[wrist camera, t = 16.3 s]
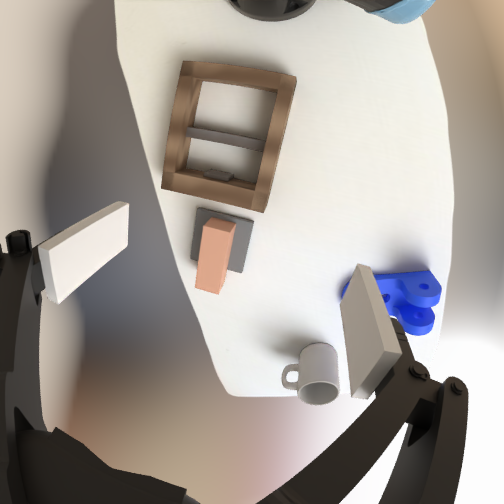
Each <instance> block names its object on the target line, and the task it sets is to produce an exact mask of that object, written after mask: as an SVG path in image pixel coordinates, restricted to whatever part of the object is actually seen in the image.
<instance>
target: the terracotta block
mask: <svg viewBox="0 0 504 504" xmlns="http://www.w3.org/2000/svg"><path fill="white" fill-rule="evenodd" d="M235 227H236V223H233V222H229V221H225V220H222V219H218V218H214V217H211V218H210V219H209V220H208V221H207V223H206V224H205V225H204V226H203V232H202V239H201V246H200V253H199V260H198V267H197V275H196V283H195V288H198V289H201V290H204V291H208V292H211V293H215V294H219V292H220V290H221V288H222V286H223V284H224V282H225V277H226V272H227V267H228V262H229V257H230V252H231V247H232V242H233V237H234V232H235Z"/></svg>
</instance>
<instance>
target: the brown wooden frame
mask: <svg viewBox="0 0 504 504" xmlns="http://www.w3.org/2000/svg"><path fill="white" fill-rule="evenodd" d="M202 81H208V82H216V83H224V84H231V85H237V86H244V87H249V88H255V89H261V90H266V91H271V92H275V93H277V97H276V101H275V105H274V110H273V114H272V118H271V122H270V127H269V131H268V135H267V140H266V141H264V140H259V139H255V138H250V137H246V136H241V135H236V134H231V133H225V132H220V131H214V130H209V129H203V128H196V127H193V125H194V119H195V114H196V109H197V104H198V99H199V95H200V90H201V85H202ZM296 83H297V80H296V77H295V76H291V75H286V74H282V73H277V72H272V71H266V70H261V69H255V68H248V67H242V66H234V65H226V64H218V63H207V62H195V61H183V63H182V67H181V71H180V76H179V80H178V85H177V90H176V95H175V100H174V105H173V110H172V116H171V121H170V127H169V133H168V140H167V146H166V153H165V160H164V167H163V175H162V183H161V189H165V190H170V191H174V192H179V193H183V194H188V195H192V196H196V197H200V198H205V199H209V200H213V201H217V202H221V203H225V204H230V205H234V206H238V207H242V208H246V209H249V210H253V211H257V212H261V213H264V211H265V208H266V206H267V203H268V199H269V195H270V191H271V187H272V183H273V179H274V174H275V170H276V166H277V162H278V158H279V154H280V150H281V145H282V141H283V137H284V133H285V129H286V125H287V121H288V116H289V112H290V108H291V104H292V100H293V96H294V91H295V87H296ZM191 138H196V139H202V140H207V141H213V142H218V143H223V144H228V145H233V146H238V147H243V148H247V149H252V150H256V151H261V152H264V153H263V157H262V161H261V166H260V170H259V174H258V179H257V183H256V184H255V183H251V182H247V181H243V180H239V179H234V178H233V177H234V174H231V173H226V172H222V171H217V170H213V169H211V170H209V171H206V172H203V171H198V170H193V169H188V168H186V165H187V159H188V153H189V147H190V141H191Z"/></svg>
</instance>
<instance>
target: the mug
mask: <svg viewBox="0 0 504 504" xmlns="http://www.w3.org/2000/svg"><path fill="white" fill-rule="evenodd" d="M290 371H297V372H299V376H298V381H297V382H292V383H291V382H287V380H286V376H287V373H288V372H290ZM282 385H283V386H284V387H285V388H286V389H290V390H297V394H298V397H299V399H300V400H301V401H302V402H304V403H306V404H310V405H324V404H328V403H330V402H332V401H334V400H335V399H336V398H337V397H338V395H339V393H340V386H339V372H338V356H337V352H336V350H335V349H334V348H333V347H332V346H330V345H328V344H325V343H315V344H311V345H309V346H307V347H305V348H304V349H303V350H302V351H301V353H300V357H299V364H290V365H287V366H286V367H285V368H284V370H283V372H282Z"/></svg>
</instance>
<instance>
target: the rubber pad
mask: <svg viewBox="0 0 504 504" xmlns="http://www.w3.org/2000/svg"><path fill="white" fill-rule="evenodd" d="M211 217H214V218H218V219H222V220H225V221H229V222H233V223H236V227H235V232H234V237H233V242H232V247H231V252H230V257H229V262H228V267H227V269H228V270H231V271H235V272H238V273H242V271H243V267H244V263H245V259H246V254H247V250H248V245H249V241H250V237H251V232H252V228H253V224H254V221H251V220H247V219H243V218H239V217H235V216H231V215H227V214H223V213H219V212H215V211H211V210H207V209H203V208H198V209H197V214H196V221H195V228H194V235H193V243H192V251H191V259H192V260H196V261H198V260H199V253H200V246H201V239H202V232H203V226H204V225H205V224H206V223H207V221H208V220H209V219H210V218H211Z"/></svg>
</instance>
